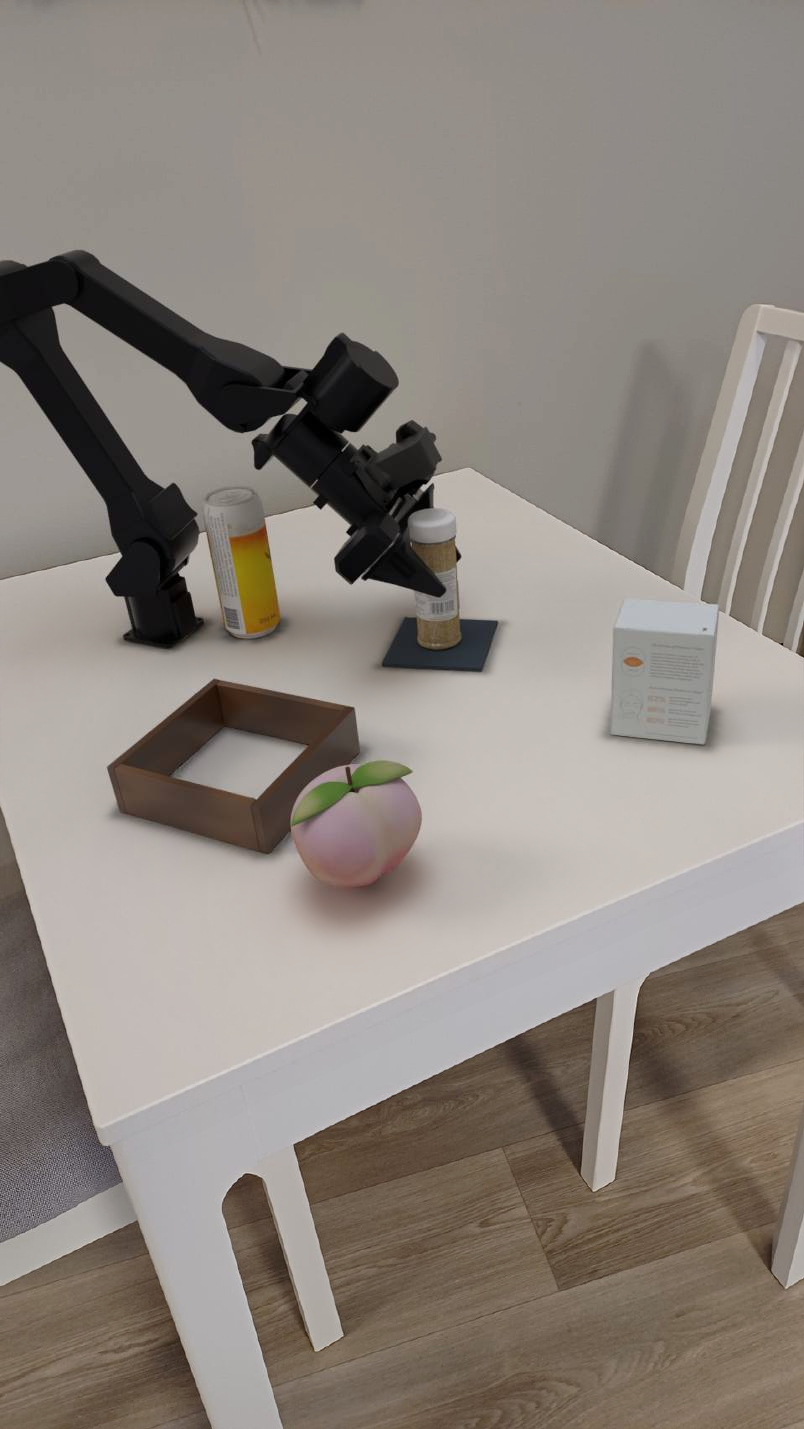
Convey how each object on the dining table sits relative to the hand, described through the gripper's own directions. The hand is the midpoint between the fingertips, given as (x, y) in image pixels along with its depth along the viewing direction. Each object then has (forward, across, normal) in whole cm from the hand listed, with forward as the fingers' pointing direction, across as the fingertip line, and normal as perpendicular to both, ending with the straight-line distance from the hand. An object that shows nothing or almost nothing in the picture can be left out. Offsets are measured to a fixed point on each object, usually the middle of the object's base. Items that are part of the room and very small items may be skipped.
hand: (451, 576), depth 96 cm
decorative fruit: (+5, -35, +6) cm, 36 cm away
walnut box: (-4, -25, +15) cm, 29 cm away
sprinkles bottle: (+4, 0, +6) cm, 7 cm away
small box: (+20, -12, -9) cm, 25 cm away
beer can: (-10, +2, +21) cm, 24 cm away
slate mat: (+4, 0, +6) cm, 8 cm away
